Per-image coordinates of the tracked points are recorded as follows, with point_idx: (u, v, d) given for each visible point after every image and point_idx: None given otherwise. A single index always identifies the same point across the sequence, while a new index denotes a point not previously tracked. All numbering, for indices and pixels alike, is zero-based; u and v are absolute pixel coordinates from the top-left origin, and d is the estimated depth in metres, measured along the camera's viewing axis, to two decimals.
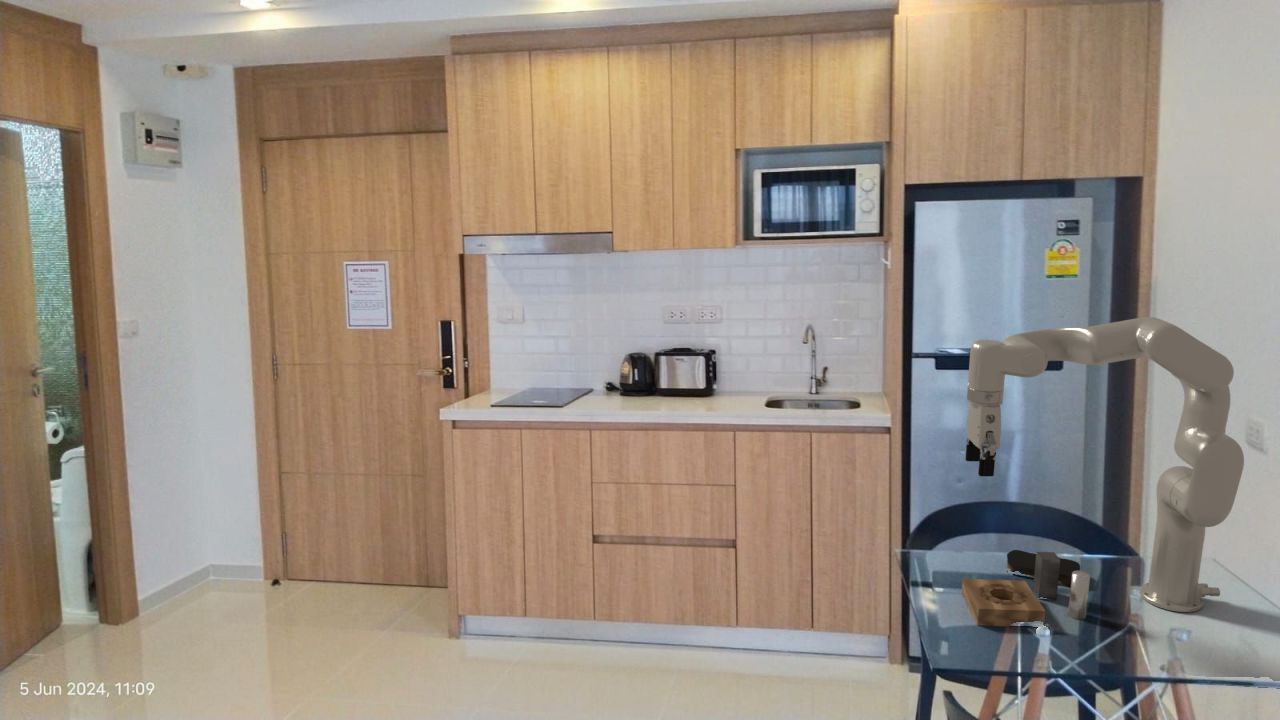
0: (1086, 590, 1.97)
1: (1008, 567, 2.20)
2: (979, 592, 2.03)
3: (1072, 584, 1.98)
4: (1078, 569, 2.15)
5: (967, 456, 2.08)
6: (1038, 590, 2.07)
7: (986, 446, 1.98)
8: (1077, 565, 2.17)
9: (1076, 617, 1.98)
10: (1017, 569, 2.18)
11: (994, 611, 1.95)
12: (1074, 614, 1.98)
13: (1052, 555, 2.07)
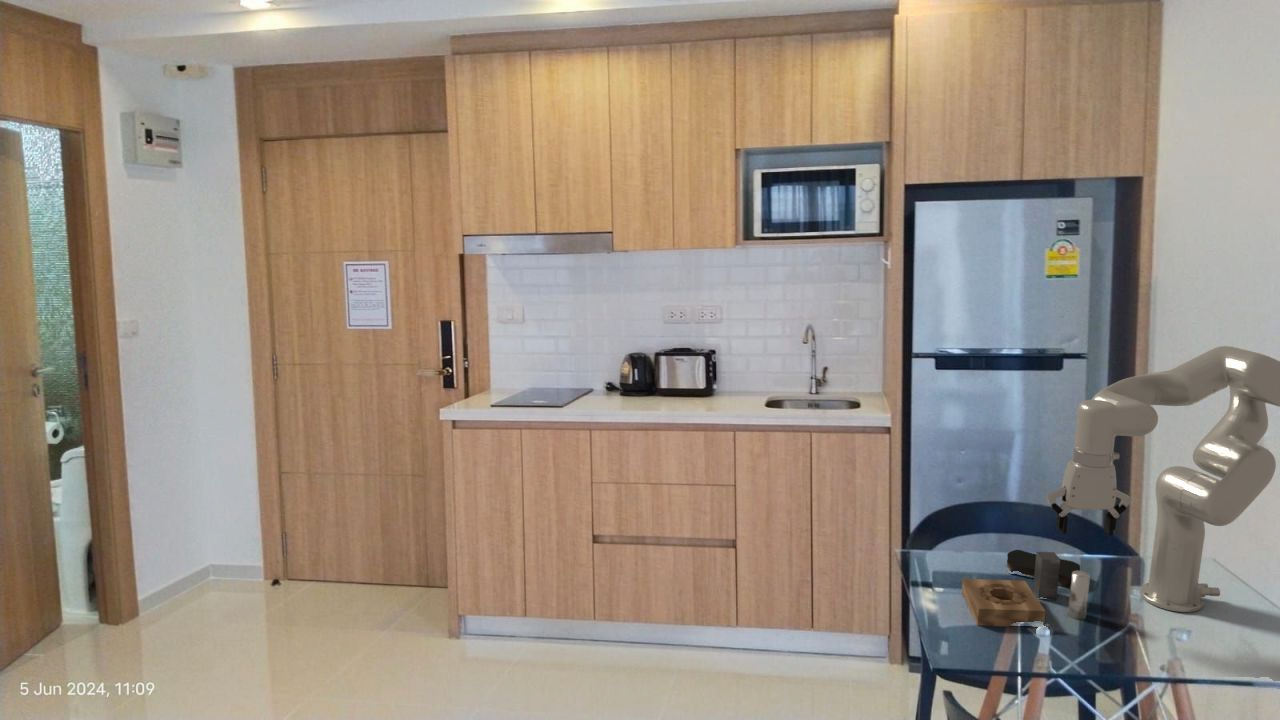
0: (1086, 590, 1.97)
1: (1007, 566, 2.20)
2: (979, 592, 2.03)
3: (1072, 584, 1.98)
4: (1078, 570, 2.14)
5: (1066, 529, 1.94)
6: (1038, 590, 2.07)
7: None
8: (1078, 566, 2.16)
9: (1076, 617, 1.98)
10: (1016, 568, 2.18)
11: (994, 611, 1.95)
12: (1074, 614, 1.98)
13: (1052, 555, 2.07)
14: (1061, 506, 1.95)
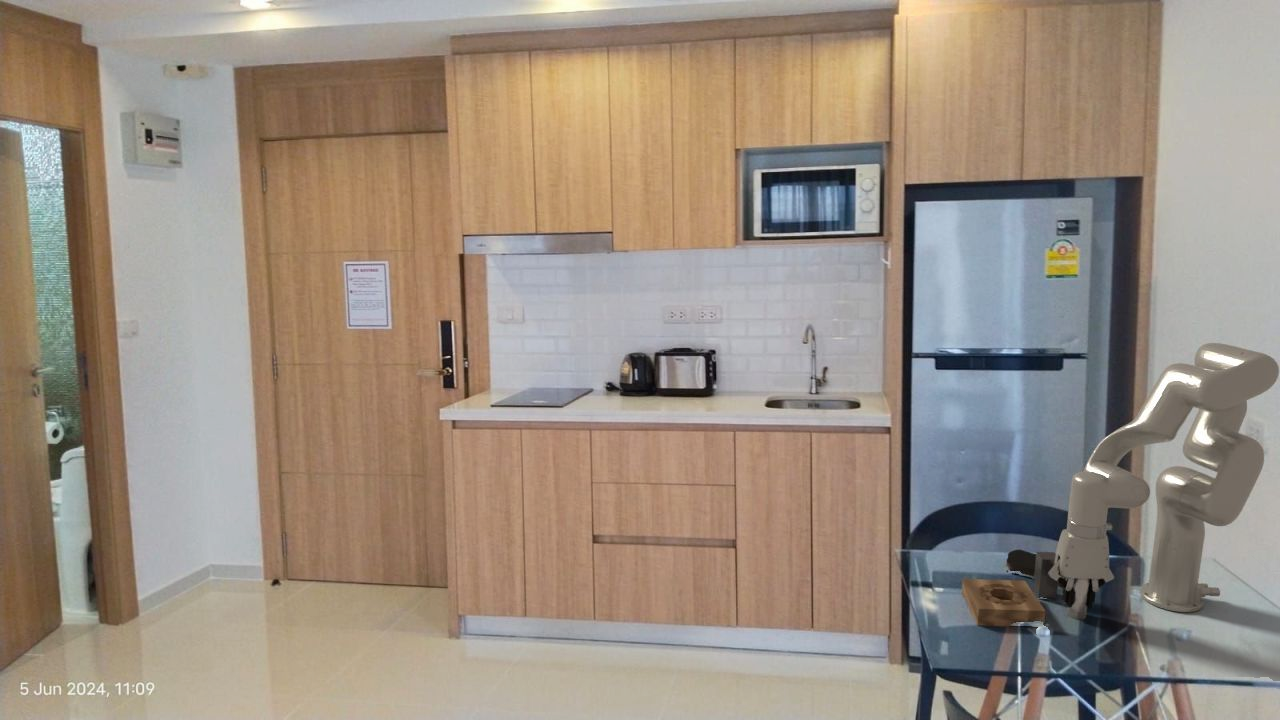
0: (1086, 590, 1.97)
1: (1007, 565, 2.21)
2: (979, 592, 2.03)
3: None
4: None
5: (1072, 602, 1.98)
6: (1038, 590, 2.07)
7: None
8: None
9: (1076, 617, 1.98)
10: (1015, 568, 2.19)
11: (994, 611, 1.95)
12: (1074, 614, 1.98)
13: (1052, 555, 2.07)
14: (1064, 579, 1.99)
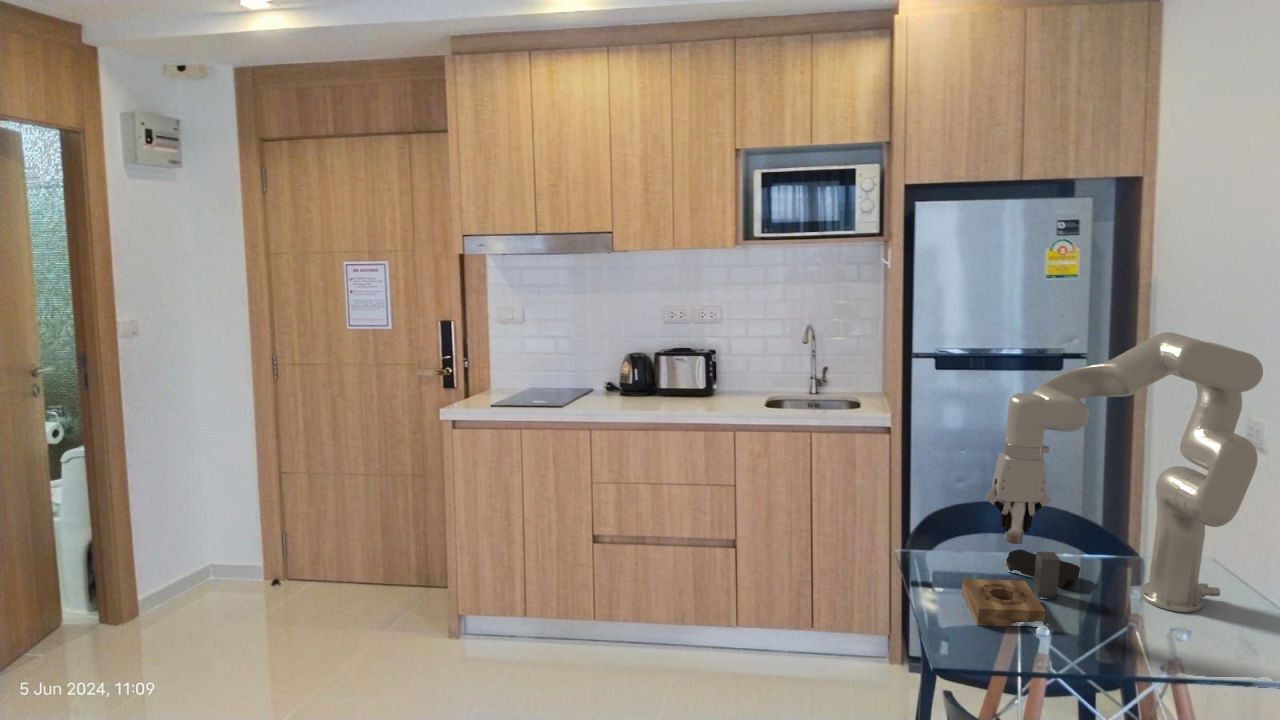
0: (1023, 514, 1.95)
1: (1006, 565, 2.21)
2: (979, 592, 2.03)
3: (1009, 508, 1.96)
4: (1076, 573, 2.13)
5: (1008, 526, 1.96)
6: (1038, 590, 2.07)
7: None
8: (1077, 569, 2.15)
9: (1013, 541, 1.97)
10: (1014, 567, 2.19)
11: (994, 611, 1.95)
12: (1011, 538, 1.97)
13: (1052, 555, 2.07)
14: (1002, 503, 1.97)
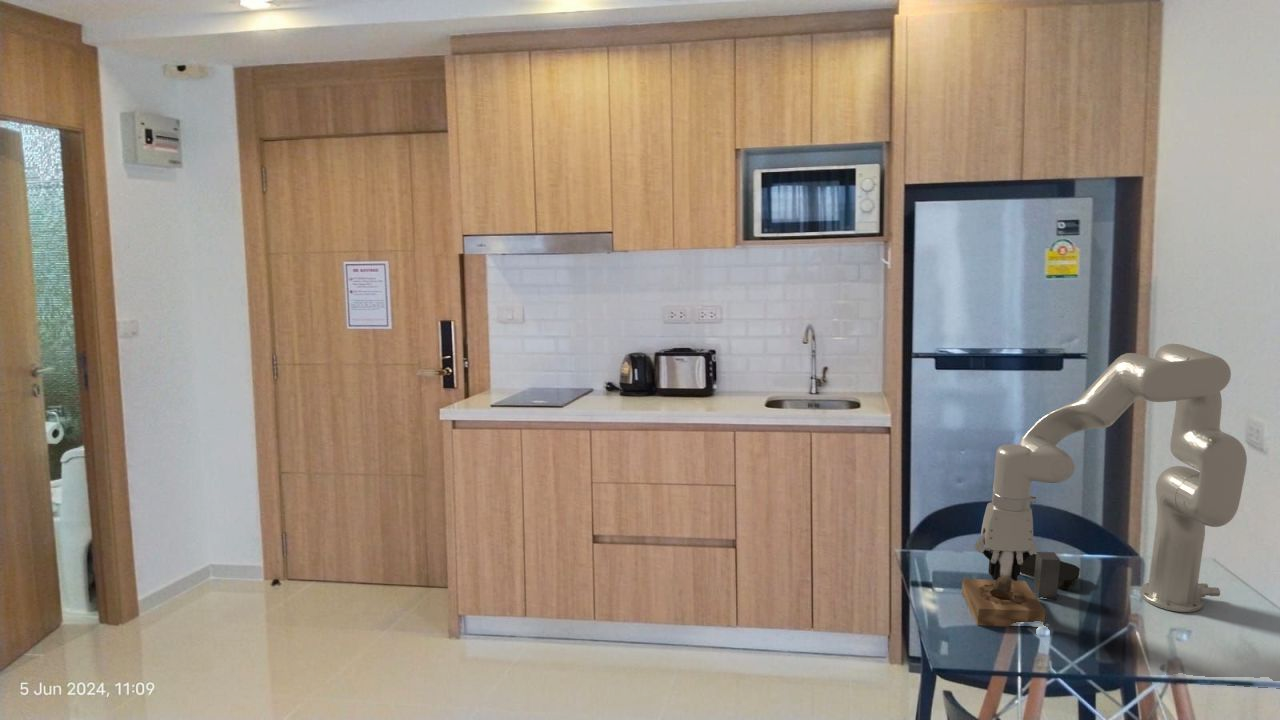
0: (1011, 562, 1.98)
1: None
2: (979, 592, 2.03)
3: None
4: (1075, 574, 2.13)
5: (997, 575, 1.99)
6: (1038, 590, 2.07)
7: None
8: (1077, 570, 2.14)
9: (1001, 590, 2.00)
10: None
11: (994, 611, 1.95)
12: (999, 587, 2.00)
13: (1052, 555, 2.07)
14: (990, 552, 2.00)
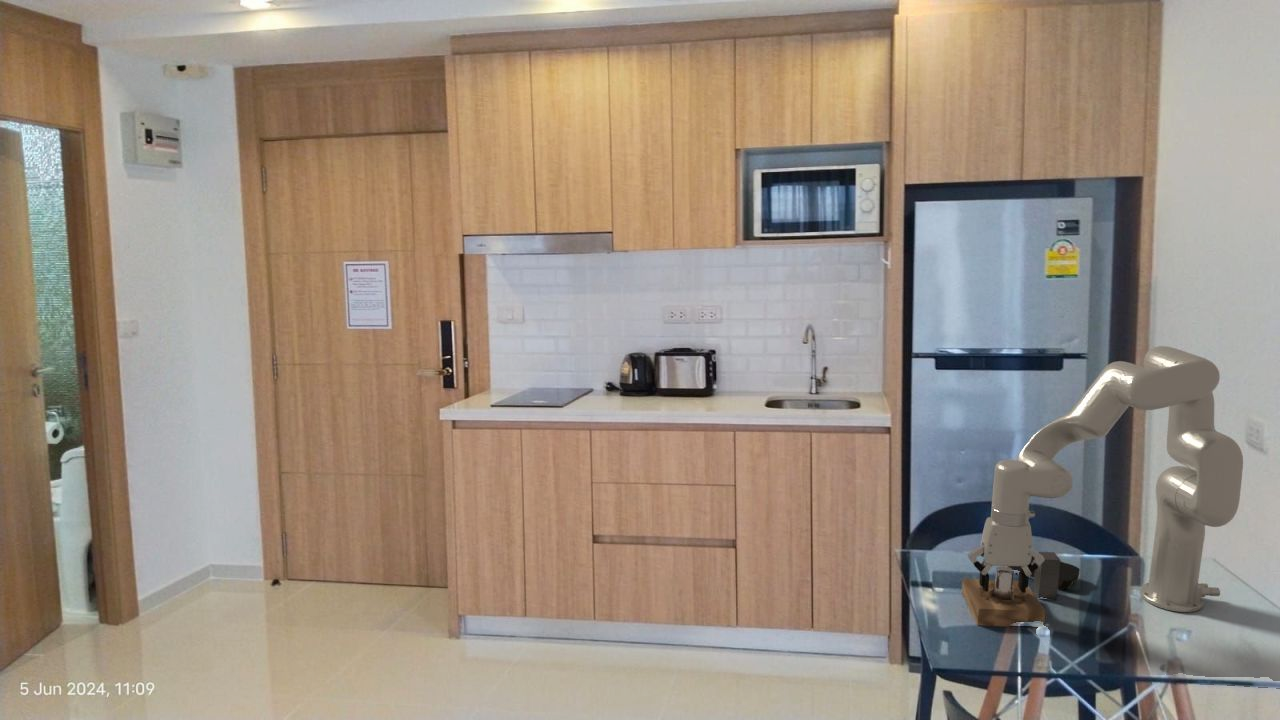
0: (1010, 585, 1.99)
1: None
2: (979, 592, 2.03)
3: (996, 580, 2.01)
4: (1074, 574, 2.12)
5: (988, 586, 2.00)
6: (1038, 590, 2.07)
7: None
8: (1077, 570, 2.14)
9: None
10: (1013, 567, 2.19)
11: (994, 611, 1.95)
12: None
13: (1052, 555, 2.07)
14: (983, 564, 2.01)
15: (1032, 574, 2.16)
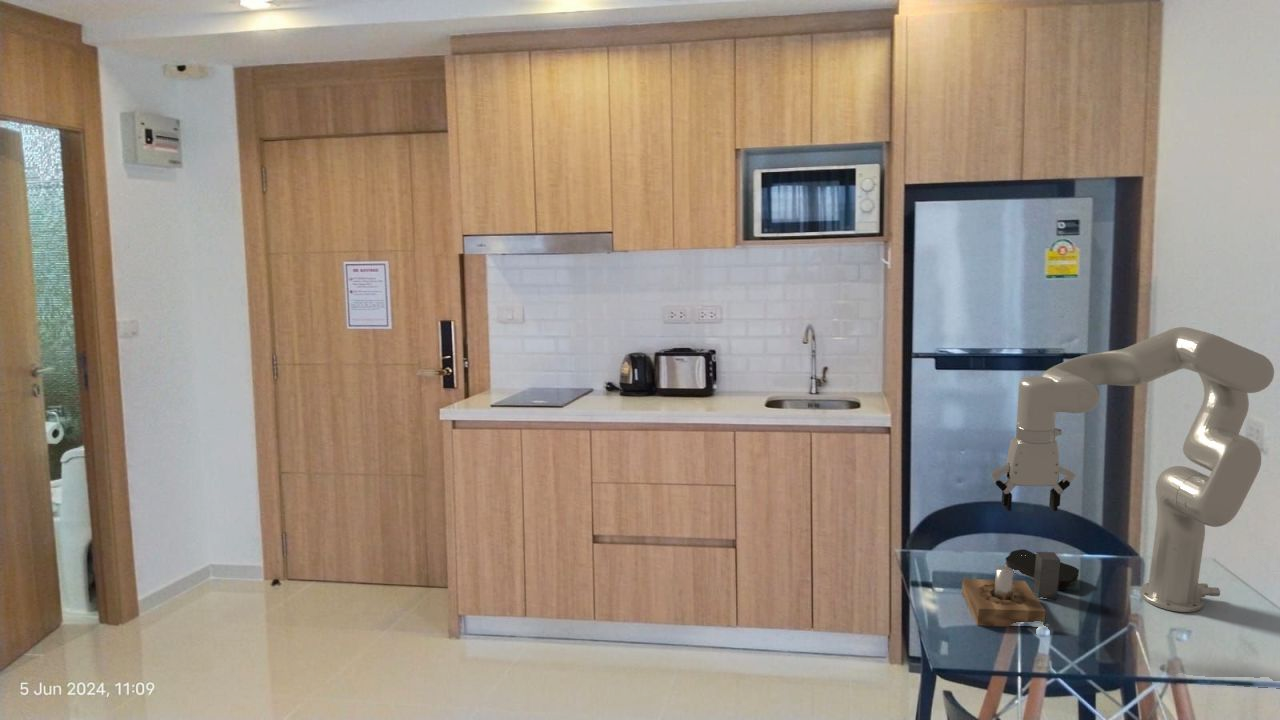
0: (1009, 585, 1.99)
1: (1006, 563, 2.22)
2: (979, 592, 2.03)
3: (996, 580, 2.01)
4: (1073, 575, 2.12)
5: (1010, 505, 1.95)
6: (1038, 590, 2.07)
7: None
8: (1076, 571, 2.13)
9: None
10: (1012, 566, 2.20)
11: (994, 611, 1.95)
12: None
13: (1052, 555, 2.07)
14: (1006, 483, 1.96)
15: (1030, 574, 2.16)
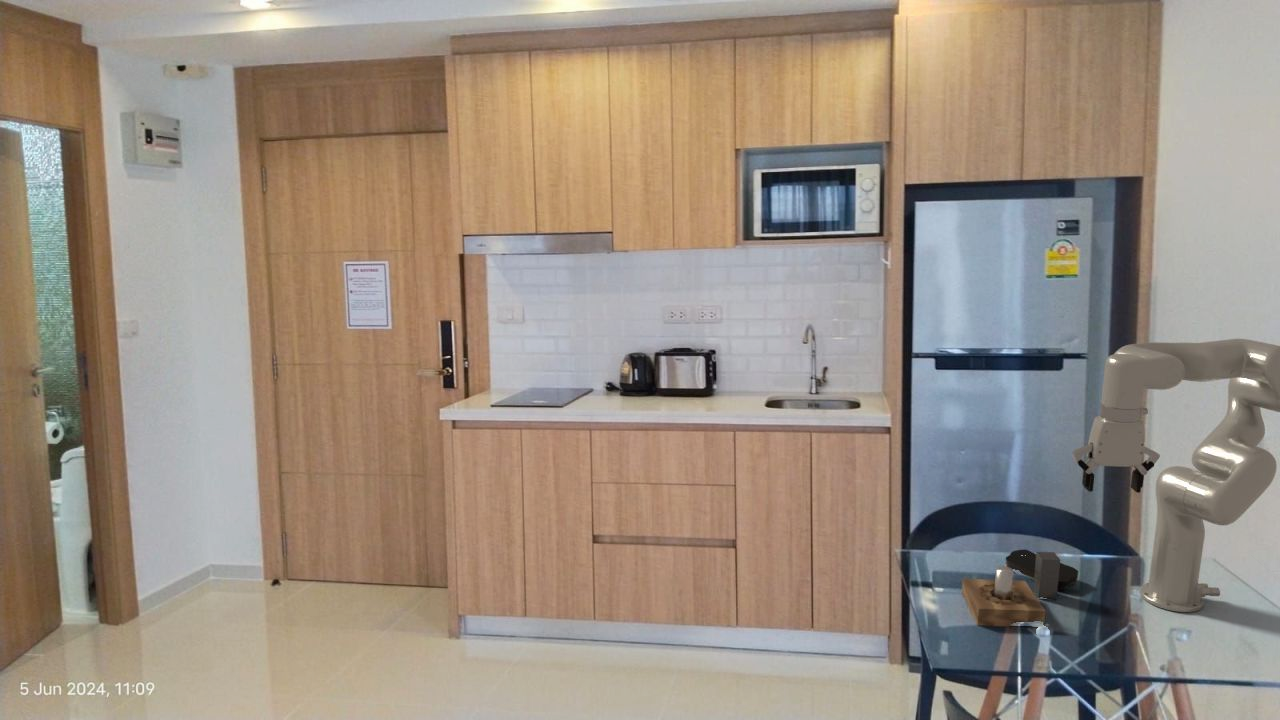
0: (1009, 585, 1.99)
1: (1006, 563, 2.22)
2: (979, 592, 2.03)
3: (996, 580, 2.01)
4: (1071, 576, 2.11)
5: (1092, 486, 1.90)
6: (1038, 590, 2.07)
7: None
8: (1075, 572, 2.13)
9: None
10: (1011, 565, 2.20)
11: (994, 611, 1.95)
12: None
13: (1052, 555, 2.07)
14: (1087, 463, 1.92)
15: (1029, 574, 2.16)
